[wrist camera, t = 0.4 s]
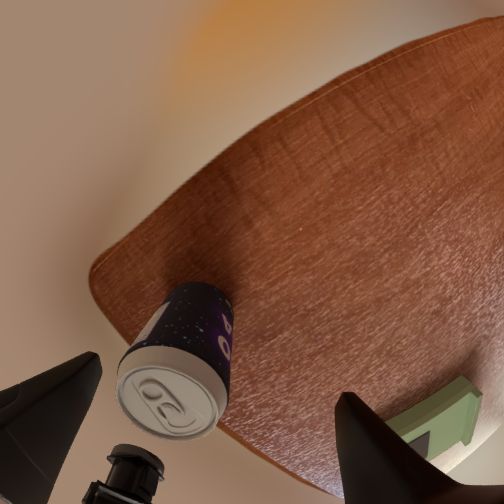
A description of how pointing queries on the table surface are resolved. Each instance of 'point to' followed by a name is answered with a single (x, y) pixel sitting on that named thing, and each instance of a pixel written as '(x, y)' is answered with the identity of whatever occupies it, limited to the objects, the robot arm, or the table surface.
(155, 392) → the beverage can
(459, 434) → the shelf
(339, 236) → the table surface
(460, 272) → the table surface
